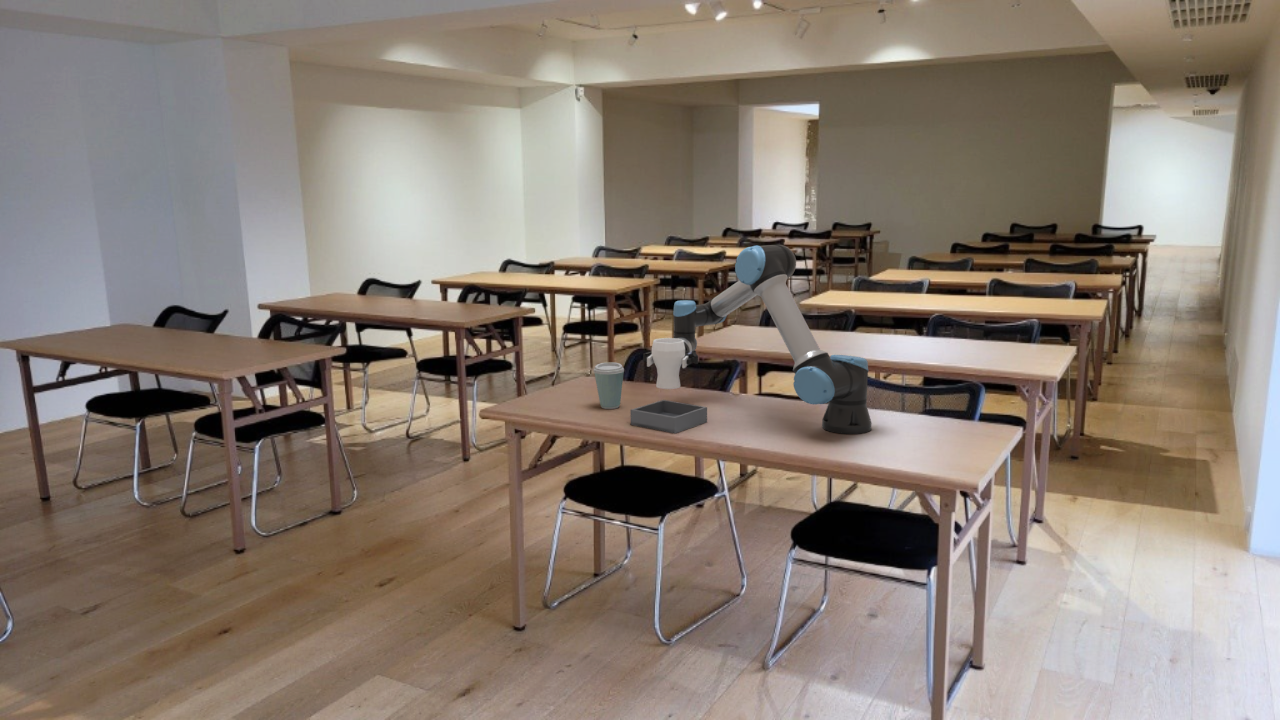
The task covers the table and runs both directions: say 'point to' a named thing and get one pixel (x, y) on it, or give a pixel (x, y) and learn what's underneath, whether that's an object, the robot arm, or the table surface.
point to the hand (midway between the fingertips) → (665, 363)
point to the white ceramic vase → (668, 361)
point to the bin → (668, 416)
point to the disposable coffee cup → (609, 384)
